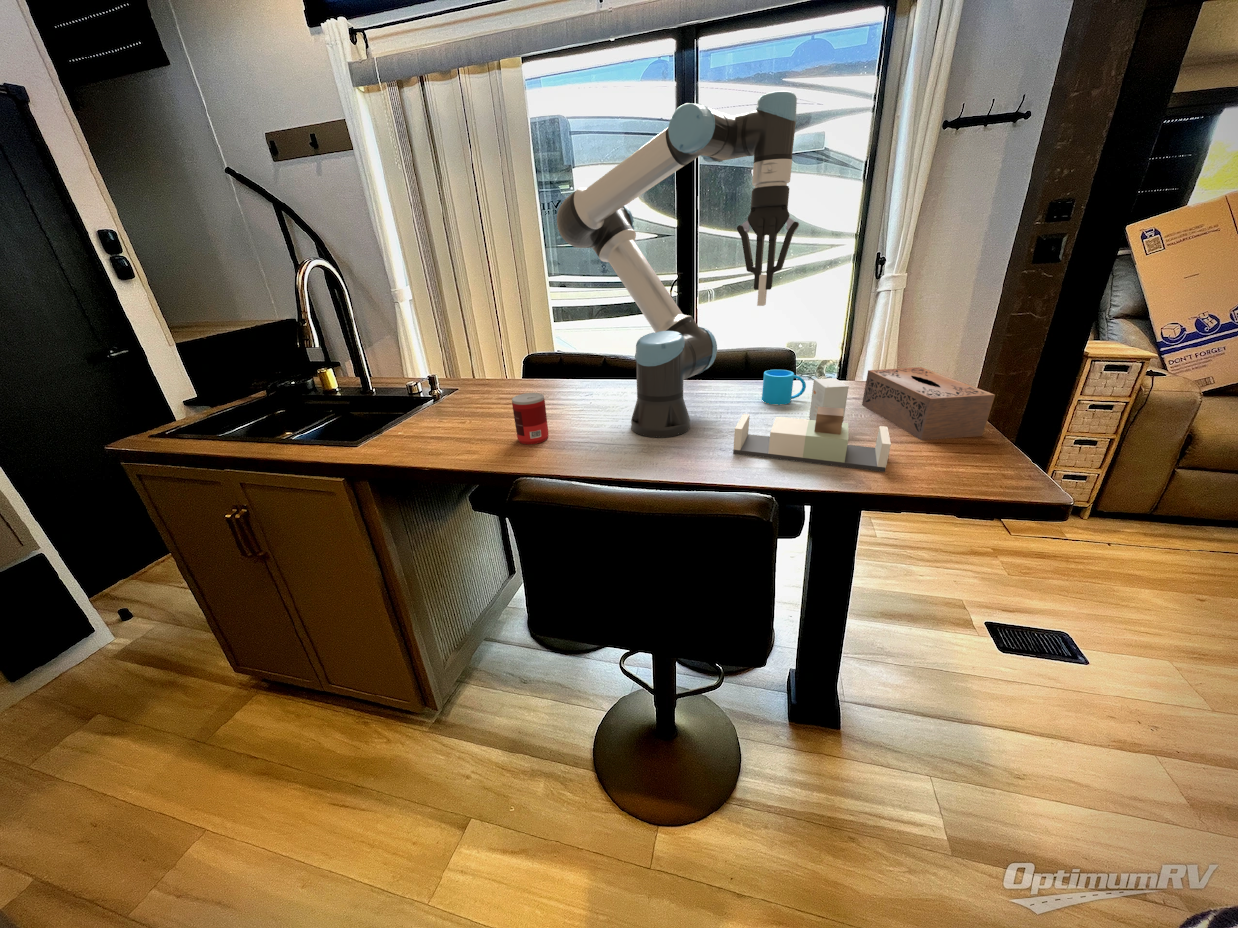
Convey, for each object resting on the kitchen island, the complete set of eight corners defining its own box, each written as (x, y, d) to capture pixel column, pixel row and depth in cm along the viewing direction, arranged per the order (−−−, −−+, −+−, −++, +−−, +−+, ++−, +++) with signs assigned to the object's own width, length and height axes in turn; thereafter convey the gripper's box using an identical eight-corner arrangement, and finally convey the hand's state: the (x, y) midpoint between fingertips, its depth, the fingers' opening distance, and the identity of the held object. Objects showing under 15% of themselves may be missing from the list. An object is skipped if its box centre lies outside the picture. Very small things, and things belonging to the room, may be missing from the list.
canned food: (554, 435, 120) (550, 393, 116) (537, 446, 114) (531, 403, 109) (530, 431, 123) (524, 391, 119) (511, 443, 117) (504, 400, 112)
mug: (764, 405, 134) (766, 377, 130) (759, 396, 141) (761, 369, 138) (807, 404, 133) (811, 376, 129) (800, 396, 140) (803, 369, 137)
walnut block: (814, 432, 98) (816, 414, 97) (815, 424, 102) (818, 406, 101) (840, 434, 96) (843, 416, 95) (840, 426, 100) (843, 408, 99)
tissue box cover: (861, 405, 130) (868, 370, 126) (912, 402, 131) (920, 367, 126) (920, 441, 107) (930, 398, 103) (982, 436, 107) (995, 394, 103)
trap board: (733, 453, 105) (734, 428, 102) (741, 437, 113) (743, 413, 110) (884, 472, 93) (890, 444, 91) (882, 452, 102) (887, 426, 99)
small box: (842, 428, 116) (849, 386, 111) (819, 428, 116) (825, 387, 111) (830, 417, 123) (836, 377, 118) (808, 417, 123) (813, 378, 119)
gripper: (735, 187, 97) (729, 307, 107) (802, 181, 92) (789, 307, 102) (742, 190, 103) (736, 303, 113) (805, 184, 98) (793, 303, 108)
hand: (761, 305), depth 107 cm, fingers closed
